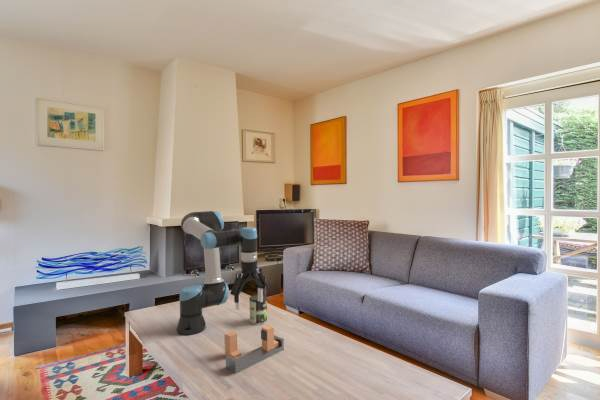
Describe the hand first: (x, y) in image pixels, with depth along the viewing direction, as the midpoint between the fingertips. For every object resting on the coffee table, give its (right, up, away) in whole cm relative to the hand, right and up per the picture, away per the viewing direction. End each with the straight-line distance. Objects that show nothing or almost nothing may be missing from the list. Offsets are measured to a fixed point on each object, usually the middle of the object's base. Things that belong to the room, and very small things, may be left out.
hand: (249, 305), depth 157 cm
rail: (+4, -23, -5) cm, 23 cm away
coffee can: (0, -21, +37) cm, 43 cm away
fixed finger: (+9, -20, +1) cm, 22 cm away
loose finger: (-7, -23, -3) cm, 24 cm away
